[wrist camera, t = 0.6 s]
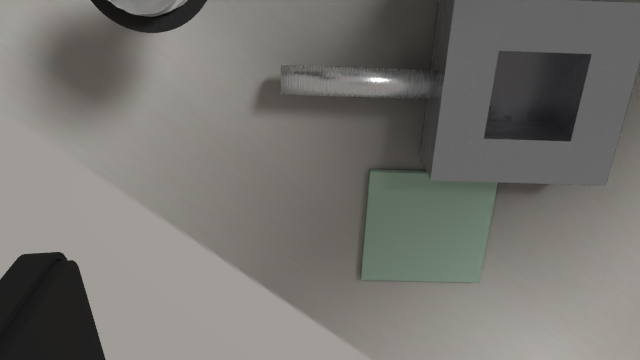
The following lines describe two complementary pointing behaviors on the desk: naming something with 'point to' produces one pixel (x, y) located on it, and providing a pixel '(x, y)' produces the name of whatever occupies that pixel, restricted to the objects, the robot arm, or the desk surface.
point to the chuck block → (510, 89)
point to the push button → (149, 13)
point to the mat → (425, 227)
